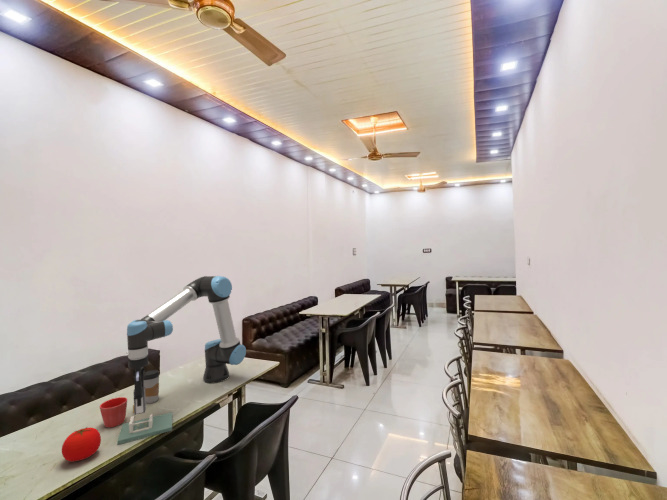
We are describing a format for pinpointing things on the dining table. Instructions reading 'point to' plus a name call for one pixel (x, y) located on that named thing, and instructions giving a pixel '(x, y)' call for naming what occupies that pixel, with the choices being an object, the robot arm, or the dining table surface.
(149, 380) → the coffee cup
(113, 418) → the flower pot
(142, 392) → the plug
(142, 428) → the board
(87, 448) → the tomato
